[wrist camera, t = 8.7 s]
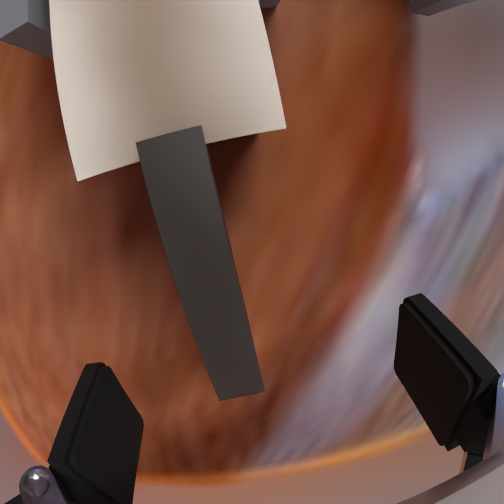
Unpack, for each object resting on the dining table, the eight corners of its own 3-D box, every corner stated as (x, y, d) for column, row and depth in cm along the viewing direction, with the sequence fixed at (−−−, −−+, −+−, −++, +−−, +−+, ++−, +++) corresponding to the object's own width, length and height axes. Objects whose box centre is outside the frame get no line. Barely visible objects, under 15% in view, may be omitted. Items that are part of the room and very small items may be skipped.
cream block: (224, -33, 9) (235, -106, 4) (290, 298, 15) (326, 374, 10) (90, 2, 9) (37, -50, 4) (170, 325, 15) (160, 409, 10)
